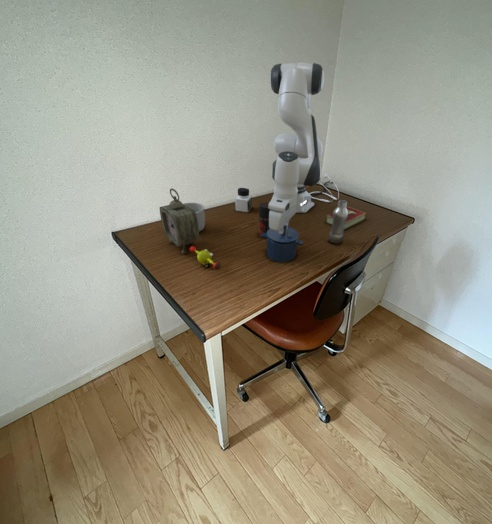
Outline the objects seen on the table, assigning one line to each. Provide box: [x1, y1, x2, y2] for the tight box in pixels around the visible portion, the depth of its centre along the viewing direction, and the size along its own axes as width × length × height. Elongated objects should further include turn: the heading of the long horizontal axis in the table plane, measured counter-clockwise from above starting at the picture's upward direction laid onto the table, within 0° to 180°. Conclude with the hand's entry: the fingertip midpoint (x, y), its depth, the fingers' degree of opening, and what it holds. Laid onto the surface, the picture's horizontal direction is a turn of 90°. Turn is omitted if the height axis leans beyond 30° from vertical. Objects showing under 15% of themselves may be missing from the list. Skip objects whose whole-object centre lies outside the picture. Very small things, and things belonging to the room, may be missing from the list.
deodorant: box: [258, 202, 271, 238], centre depth 123 cm, size 6×6×15 cm
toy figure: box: [188, 245, 221, 270], centre depth 101 cm, size 18×6×7 cm, turn 48°
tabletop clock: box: [159, 188, 200, 255], centre depth 107 cm, size 14×9×25 cm, turn 45°
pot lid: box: [267, 225, 300, 243], centre depth 108 cm, size 13×13×5 cm
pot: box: [260, 233, 305, 263], centre depth 112 cm, size 12×18×8 cm
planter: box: [182, 202, 206, 233], centre depth 124 cm, size 12×12×11 cm
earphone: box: [308, 173, 340, 204], centre depth 172 cm, size 14×17×18 cm
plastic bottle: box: [328, 199, 348, 245], centre depth 121 cm, size 6×7×20 cm
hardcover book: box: [325, 206, 367, 231], centre depth 145 cm, size 12×21×4 cm, turn 136°
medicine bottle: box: [234, 186, 253, 213], centre depth 146 cm, size 7×7×12 cm
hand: (283, 231), depth 108 cm, fingers closed on pot lid, 2 cm apart
